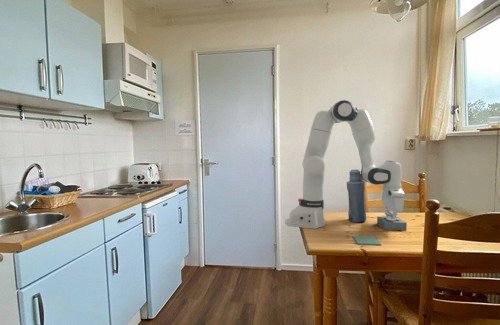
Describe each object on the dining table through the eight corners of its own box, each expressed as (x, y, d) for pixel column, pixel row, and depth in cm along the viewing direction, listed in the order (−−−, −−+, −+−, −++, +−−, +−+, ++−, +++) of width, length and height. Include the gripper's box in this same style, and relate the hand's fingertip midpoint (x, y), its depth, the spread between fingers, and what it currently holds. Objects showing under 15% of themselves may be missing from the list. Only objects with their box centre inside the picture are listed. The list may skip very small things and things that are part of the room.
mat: (358, 244, 122) (358, 243, 122) (352, 236, 131) (352, 235, 131) (381, 245, 120) (381, 244, 120) (373, 237, 130) (373, 236, 130)
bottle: (347, 218, 164) (344, 169, 163) (364, 217, 163) (361, 168, 161) (350, 222, 155) (347, 171, 153) (368, 222, 153) (365, 169, 152)
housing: (384, 229, 142) (384, 222, 142) (377, 223, 153) (377, 216, 153) (406, 230, 141) (406, 222, 141) (397, 224, 152) (397, 217, 152)
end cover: (386, 226, 144) (387, 213, 144) (382, 223, 151) (383, 210, 150) (399, 227, 144) (399, 214, 143) (394, 223, 150) (394, 211, 149)
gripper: (379, 187, 157) (378, 210, 157) (393, 193, 136) (392, 220, 137) (390, 187, 156) (389, 211, 157) (406, 194, 136) (405, 221, 136)
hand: (391, 215), depth 147 cm, fingers closed on end cover, 6 cm apart
